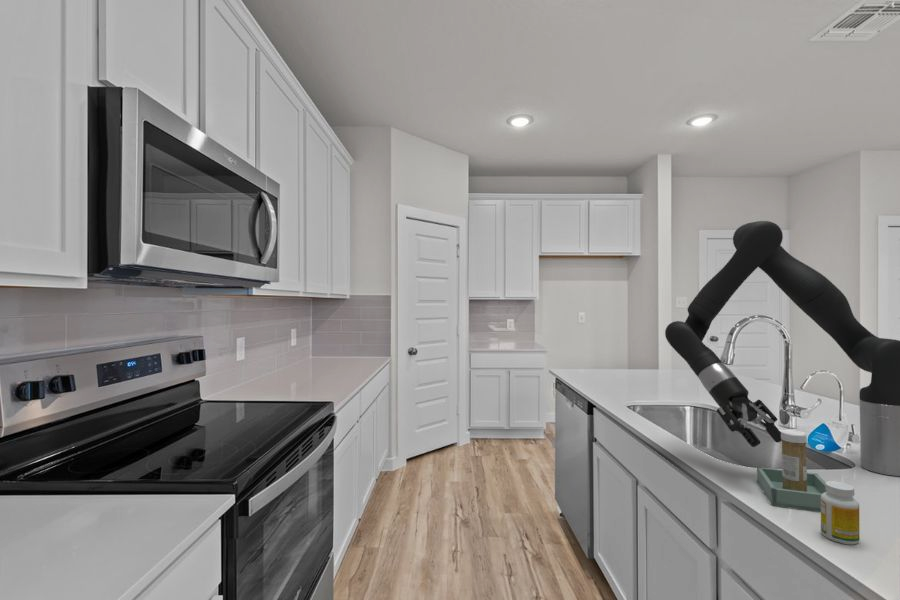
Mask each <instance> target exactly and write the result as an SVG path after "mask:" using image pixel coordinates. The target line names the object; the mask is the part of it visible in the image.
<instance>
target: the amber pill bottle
mask: <svg viewBox="0 0 900 600" xmlns="http://www.w3.org/2000/svg"><path fill="white" fill-rule="evenodd" d="M780 432H781V439H782V441H781V470H782V476H783V487H782V489H787V490H796V491H804V492H807V473H808V470H807V455H806V454H807V452H806V450H807V449H806V445H807V441H808V440H807V433H806V432H803V431H801V430H800V431H799V430H795V429H782V430H781V431H780Z"/></svg>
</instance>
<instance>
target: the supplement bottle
mask: <svg viewBox="0 0 900 600" xmlns="http://www.w3.org/2000/svg"><path fill="white" fill-rule="evenodd" d="M825 482H826V483H825V489H826V491H827V492H825V493H823V494H822V495H821V512H820V533H821V535H823V536H824V538H826V539H828V540H830V541H832V542H836V543H840V544H844V545H852V546H853V545H857V544H859V542H860V539H861V538H860V502H859V501H858V500H857V499H856V498H855V497H854V496H855V495H856V494H855V487H854V486H852V485H850V484H848V483H846V482H845V483H844V482H841V481H835V480H831V481H830V480H829V481H825Z"/></svg>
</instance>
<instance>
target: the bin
mask: <svg viewBox="0 0 900 600" xmlns="http://www.w3.org/2000/svg"><path fill="white" fill-rule="evenodd" d="M756 481H757V484H758V485H759V486H760V488H761V490H762V492H763V491H764V492H763V493H764V495H765V496H766V498H767V500H768V501H769V503H770V504H771V506H774V507H782V508H787V507H790V508H789V509H794V508H796V510H804V511H811V512H817V513H821V495H822V494H823V493H825V492H827V491H826V489H825V483H826V482H827V481H825V480H824V479H823V478H822V477H821V476H820V475H819V474H818V473H815V472H807V492H804V491H796V490H787V489H782V487H783V476H782V469H777V468H769V467H761V466H757V467H756Z"/></svg>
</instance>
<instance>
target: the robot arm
mask: <svg viewBox="0 0 900 600" xmlns="http://www.w3.org/2000/svg"><path fill="white" fill-rule="evenodd" d="M783 235H784V234H783V230H782V229H781V227H780V226H779V225H778V224H776V223H775V222H772V221H770V220H769V221H768V220H760V221H759V220H758V221H752V222H747V223H744V224H742V225H740V226H739V227H738V228H736V229H735V232H733V236H732V243H733V246H734V247H735V252H734V254H733V255H732V256H731V258H730V259H729V260H728V262H727V263H726V264H725V265H724V266H723V267H722V268H721V269H720V270H719V271H718V272H717V273H715V275H714V276H712V278H711V279H710V280H708V281H707V283H705V284H704V286H703V287H702V288H701V289H700V290H699V292H698V293H697V294H696V296H695V297H694V298H693V300H692V301H691V302H690V304H689V305H688V307H687V313H688V316H687V317H686V319H685V321H681V320H678V321H677V320H675V321H672V322H671V323H669V324H668V325H667V326H666V328H665V330H664V336H665V338H666V341H667V343H668V344H669V346H671V347H672V348H673V350H674V351H675V352H676V353H677V354H678V355H679V356H680V357H681V358H682V359H683V360H684V361H685V362H686V363H687V364H688V366H689V367H690V369H691V370H692V371H693V373H694V374H695V375H696V377H697V378H698V379H699V382H701V383H700V384H702V386H703V388H704V389H705V390H706V391H707V392H708V393H709V395H710V396H711V399H713V400H714V402H715V403H716V404H717V405H718V406H719V407H718V408H717V409H716V412H717V414H718V416H719V417H720V418H721V419H722V421H723V422H724V423H725V425H726V426H727V428H728V430H729V431H731V432H732V433H733V432H735V431H736V432H737V433H738V434H740V435H742V437H743V439H745V441H746V442H747V443H748V444H749V445H750V446H751V448H756V447H758V445H760V444H761V440H760V438H758V437H757V435H756V434H755V433H754V431H753V430H752V428H750V427H749V423H748V422H752V423H753V424H754V425H759V426H761V427H762V428H764V429H765V431H766V432H767V434H768V435H769V436H770V437H771V438H772V440H773V441H774V442H775V443H780V442H781V443H782V439H781V431H780V429H779V428H778V427H777V426H776V425H775V423H776V422H777V421H778V418H777V416H775V414H774V413H773V412H772V411H771V410H770V409H769V408H768V406H766V404H765V403H764V402H763V401H762V400H761V399H757V400H756V401H754V402H753V401H751V399H749V397H748V396H749V390H748V389H747V388H746V387H745V386H744V384H742V382H741V381H740V379H738V377H737V376H736V375H735V374H734V372H732V370H731V369H730V368H729V367H728V366H727V365H726V364H725V363H724V362H723V361H722V360H721V359H720V358H719V357H718V356H717V354H716V353H715V352H714V351H713V350H712V349H710V347H708V346H707V345H706V344H704V342H703V340H704V339H705V337H706V335H707V333H708V331H709V329H710V327H711V325H712V322H713V321H714V320H715V318H716V317H717V316H718V315H719V313H720V312H721V311H722V309H723V308H724V307H725V306H726V304H727V303H728V301H730V299H731V297H732V296H733V295H735V293H736V291H737V290H739V288H740V287H741V286H742V285H743V283H744V282H745V281H746V280H747V279H748V278H749V277H750V276H751V275H752V274H753V273H754V272H755V271H756V269H758V268H759V269H760V270H761V271H763V272H764V273H765V274H766V275H767V276H768V277H769V278H770V279H771V280H772V282H774V283H775V285H776V286H777V287H778V288H779V289H780V290H781V291H782V292H783V293H784V294H785V296H787V297H788V298H789V299H790V300H791V301H792V302H793V303H794V305H796V306H797V307H798V308H799V309H800V310H801V311H802V312H803V313H804V314H806V316H808V317H809V318H810V319H811V320H812V321H813V322H814V323H815V324H817V325H818V326H819V328H821V329H822V330H823V331H824V332H825V333H827V334H828V335H829V336H830V337H831V339H832V340H833V341H835V343H837V345H838V347H840V348H841V350H842V351H843V352H844V353H845V354H846V355H847V357H848V358H849V360H851V362H852V363H853V364H854V365H855V366H857V367H858V368H859V369H861V370H863V371H864V372H867V373H871V379H870V383H869V384H868V385H867V386H864V387H862V388H860V389H859V393H858V395H859V441H860V447H859V451H860V454H859V455H860V467H862V468H863V469H865V470H868V471H871V472H874V473H876V474H877V473H878V474H883V475H888V476H894V477H900V340H899V339H892V338H884V337H878V336H876V335H875V334H874V333H872V332H871V331H870V330H868V329H867V328H866V327H864V326H863V325H862V324H861V323H860V321H859V320H858V319H857V318H856V317H855V316H854V314H853V311H852V308H851V305H850V303H849V300H848V298H847V297H846V296H845V295H844V293H843V292H842V291H841V290H840V288H838V287H837V286H836V285H835V284H834V283H833V282H832V281H831V280H830V279H829V278H827V277H826V276H824V275H823V274H822V273H821V272H819V271H817V270H816V269H814V268H813V267H811V266H809V265H808V264H806V263H804V262H802V261H800V260H799V259H797V258H795V257H794V256H792V255H791V254H790V253H789V252H788V251H787V250H786V249H784V247H783V246H782V245H781V244H782V243H783V238H784V237H783ZM731 421H732V422H731ZM732 423H733V424H732Z"/></svg>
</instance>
